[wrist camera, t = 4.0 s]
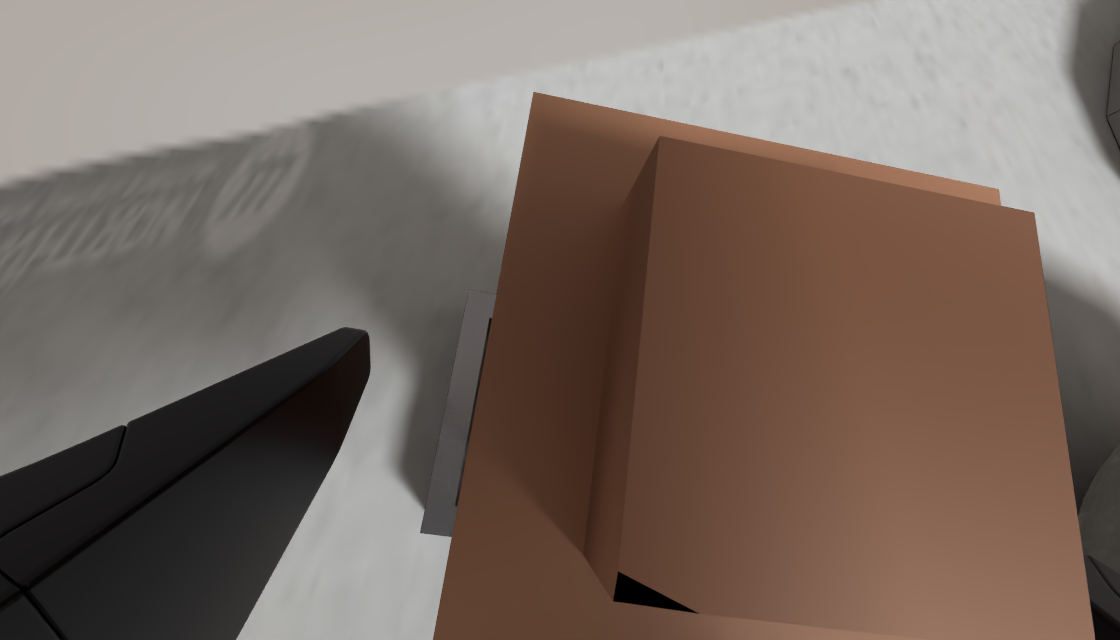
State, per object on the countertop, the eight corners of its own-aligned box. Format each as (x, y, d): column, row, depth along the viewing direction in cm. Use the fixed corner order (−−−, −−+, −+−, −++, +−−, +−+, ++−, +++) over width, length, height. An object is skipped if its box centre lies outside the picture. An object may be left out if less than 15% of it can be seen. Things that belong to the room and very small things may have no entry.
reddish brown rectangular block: (606, 489, 15) (1286, 880, 2) (489, 473, 15) (384, 819, 2) (618, 373, 16) (1122, 128, 3) (509, 356, 16) (541, -5, 3)
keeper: (647, 546, 15) (668, 563, 13) (431, 519, 14) (419, 533, 13) (664, 338, 17) (685, 326, 15) (472, 306, 16) (468, 289, 14)
